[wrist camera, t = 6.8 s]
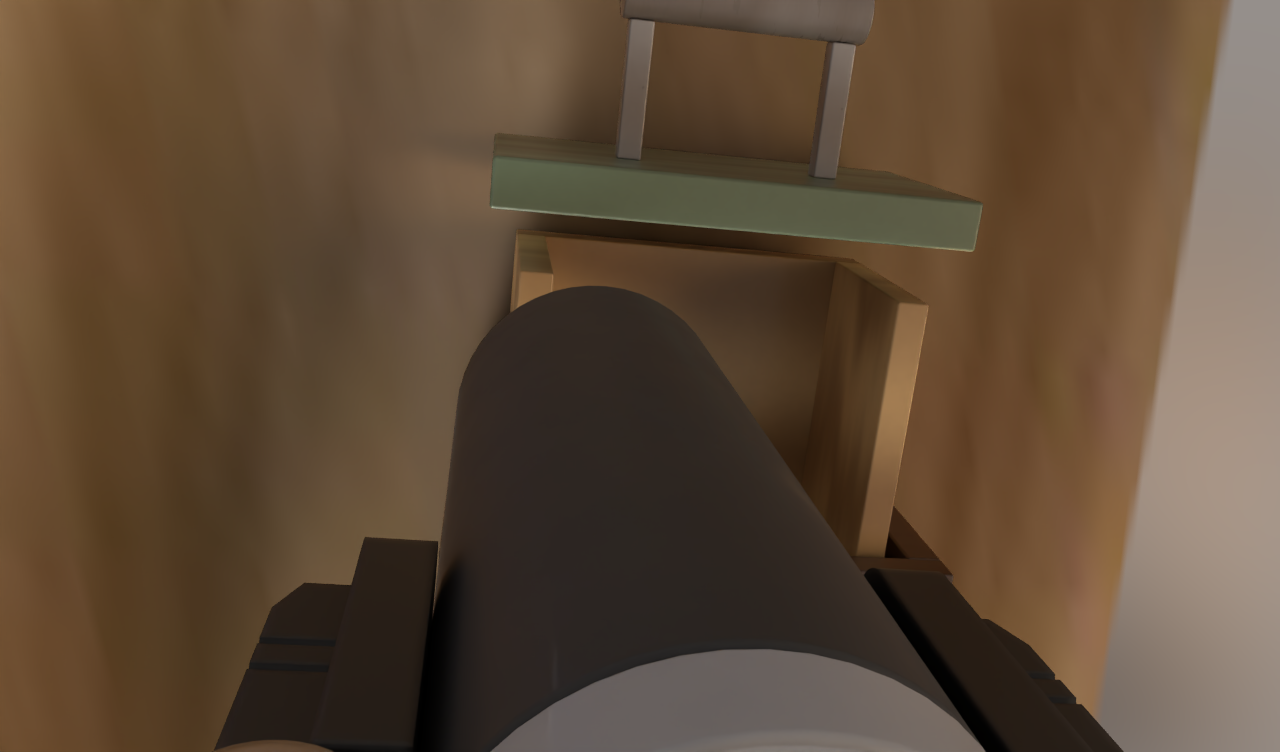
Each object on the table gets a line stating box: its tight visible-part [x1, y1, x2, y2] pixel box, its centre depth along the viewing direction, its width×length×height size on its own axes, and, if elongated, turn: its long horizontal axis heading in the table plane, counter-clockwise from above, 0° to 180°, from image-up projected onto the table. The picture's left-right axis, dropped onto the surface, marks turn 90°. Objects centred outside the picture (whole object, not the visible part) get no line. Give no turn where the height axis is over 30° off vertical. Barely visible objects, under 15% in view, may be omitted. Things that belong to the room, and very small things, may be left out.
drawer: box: [490, 0, 983, 558], centre depth 30 cm, size 18×12×7 cm, turn 173°
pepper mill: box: [417, 286, 985, 752], centre depth 13 cm, size 4×4×12 cm
